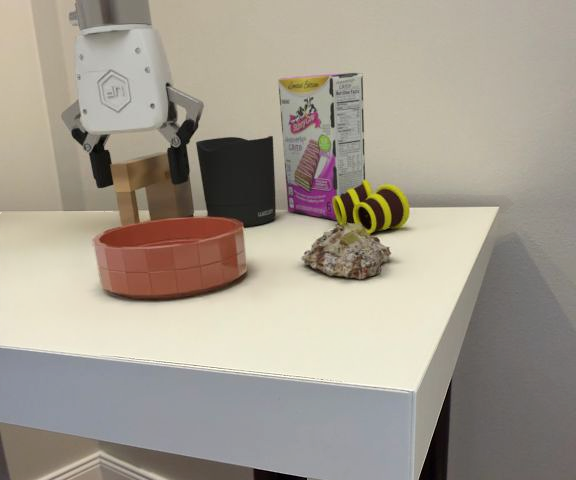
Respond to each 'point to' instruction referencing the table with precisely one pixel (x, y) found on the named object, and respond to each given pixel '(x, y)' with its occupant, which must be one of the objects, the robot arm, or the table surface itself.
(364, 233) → the mineral rock
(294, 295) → the table surface
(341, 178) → the candy bar box
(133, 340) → the table surface
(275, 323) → the table surface
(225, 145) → the pen holder
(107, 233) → the bowl
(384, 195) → the opera glasses
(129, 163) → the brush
